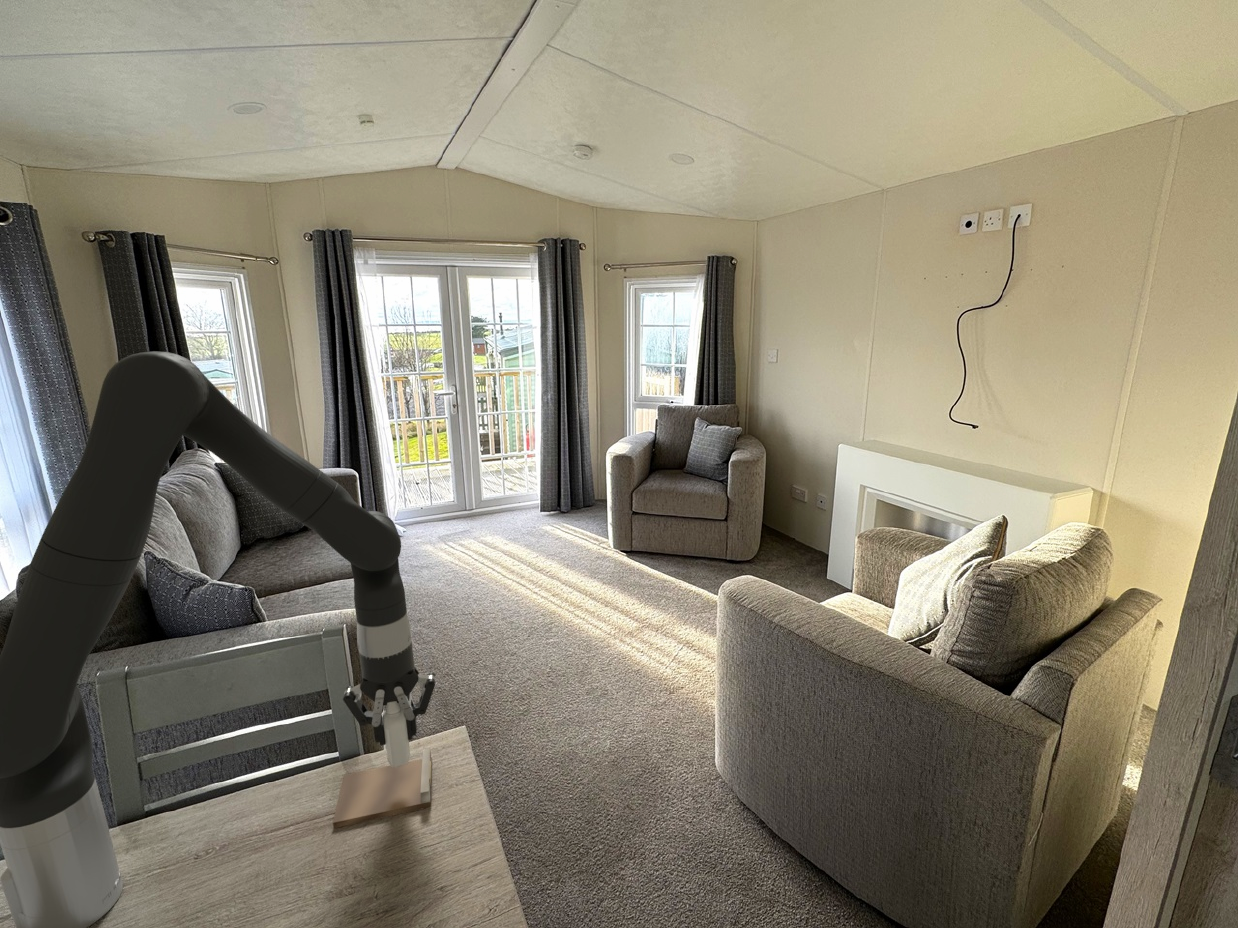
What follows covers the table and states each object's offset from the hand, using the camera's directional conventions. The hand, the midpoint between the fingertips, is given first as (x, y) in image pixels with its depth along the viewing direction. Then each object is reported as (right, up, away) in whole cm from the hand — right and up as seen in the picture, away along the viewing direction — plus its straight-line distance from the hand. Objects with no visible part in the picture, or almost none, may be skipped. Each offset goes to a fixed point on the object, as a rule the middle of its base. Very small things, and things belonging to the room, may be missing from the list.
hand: (396, 738), depth 93 cm
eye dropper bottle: (0, -3, +1) cm, 3 cm away
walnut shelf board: (-2, -9, +2) cm, 10 cm away
